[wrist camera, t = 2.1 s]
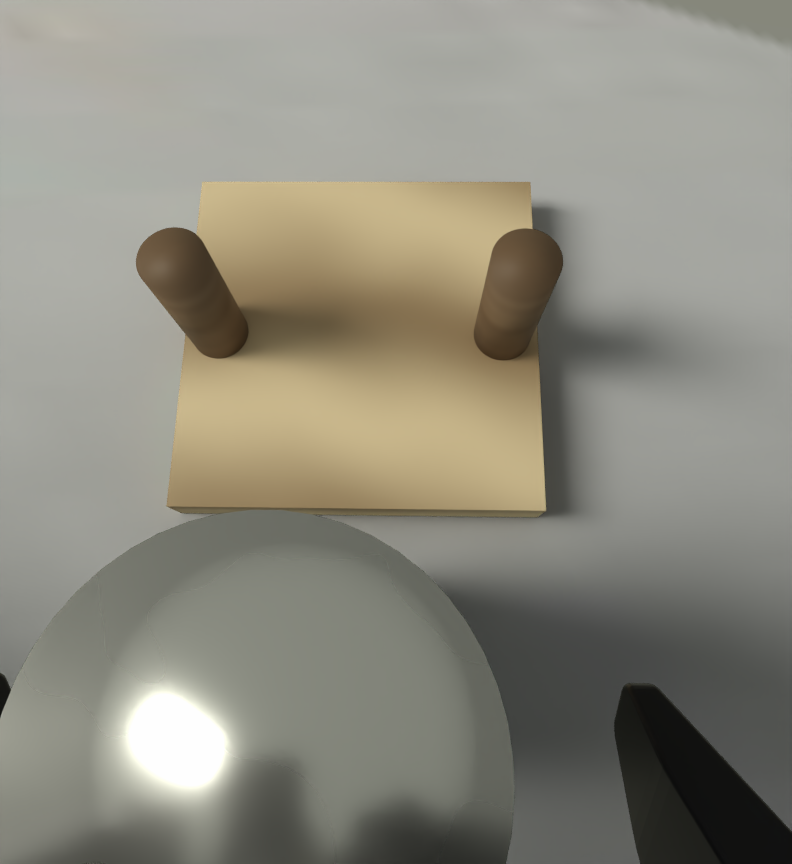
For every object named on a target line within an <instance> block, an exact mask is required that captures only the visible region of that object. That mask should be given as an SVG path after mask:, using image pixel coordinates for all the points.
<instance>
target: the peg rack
mask: <svg viewBox="0 0 792 864" xmlns="http://www.w3.org/2000/svg"><path fill="white" fill-rule="evenodd" d="M562 266H563V257H562V253H561V250H560V248H559V246H558V245H557V243H556V242H555V241H554V240H553V239H552V238H551V237H550V236H548V235H547V234H545V233H543V232H541V231H538V230H535V229H533V228H532V208H531V187H530V182H202V190H201V199H200V208H199V217H198V226H197V235H196V234H195V233H193V232H192V231H189V230H187V229H184V228H166V229H163V230H160V231H158V232H156V233H154V234H152V235H151V236H149V237H148V238H147V239H146V240H145V241H144V242H143V244H142V245H141V247H140V249H139V251H138V254H137V258H136V267H137V271H138V273H139V275H140V277H141V279H142V280H143V281H144V282H145V284H146V285H147V286H148V287H149V289H150V290H151V291H152V292H153V294H154V295H155V296H156V297H157V299H158V300H159V301H160V302H161V304H162V305H163V306H164V307H165V309H166V310H167V311H168V313H169V314H170V315H171V316H172V318H173V319H174V320H175V321H176V323H177V324H178V325H179V326H180V328H181V329H182V330H183V331H184V333H185V334H186V335H185V344H184V353H183V362H182V371H181V380H180V389H179V398H178V407H177V416H176V425H175V434H174V444H173V453H172V462H171V471H170V480H169V489H168V498H167V507H169V508H171V509H174V510H176V511H178V512H180V513H214V514H221V513H229V512H237V511H246V510H284V511H291V512H298V513H306V514H312V515H384V516H469V517H538V516H540V515H541V514H542V513H544V512H545V511H546V499H545V478H544V457H543V437H542V416H541V395H540V374H539V353H538V333H537V325H538V322H539V320H540V318H541V316H542V313H543V311H544V309H545V307H546V304H547V302H548V300H549V298H550V296H551V293H552V291H553V289H554V287H555V284H556V282H557V280H558V278H559V275H560V273H561V270H562Z"/></svg>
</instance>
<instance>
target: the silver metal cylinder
mask: <svg viewBox="0 0 792 864" xmlns="http://www.w3.org/2000/svg"><path fill="white" fill-rule="evenodd" d="M514 799H515V791H514V762H513V752H512V746H511V739H510V733H509V727H508V720H507V717H506V713H505V710H504V706H503V703H502V699H501V695H500V692H499V688H498V685H497V682H496V680H495V678H494V675H493V673H492V670H491V668H490V666H489V663H488V661H487V658H486V656H485V654H484V652H483V650H482V648H481V646H480V645H479V643H478V641H477V639H476V638H475V636H474V634H473V632H472V630H471V629H470V627H469V625H468V623H467V622H466V620H465V619H464V618H463V616H462V615H461V614H460V612H459V611H458V610H457V608H456V607H455V606H454V604H453V603H452V602H451V600H450V599H449V598H448V596H447V595H446V594H445V593H444V592H443V591H442V590H441V589H440V588H439V587H438V586H437V585H436V584H435V583H434V582H433V581H432V580H431V579H430V578H429V577H428V576H427V575H426V574H425V573H424V571H422V570H421V569H420V568H419V567H417V566H416V565H415V564H413V563H412V562H411V561H410V560H408V559H407V558H406V557H405V556H403V555H402V554H401V553H400V552H398V551H397V550H395V549H393V548H392V547H390V546H388V545H387V544H385V543H383V542H382V541H380V540H378V539H377V538H375V537H373V536H372V535H369V534H367V533H365V532H362V531H360V530H358V529H355V528H353V527H351V526H348V525H346V524H344V523H341V522H338V521H334V520H330V519H327V518H323V517H320V516H316V515H312V514H306V513H298V512H291V511H284V510H246V511H237V512H229V513H221V514H216V515H212V516H208V517H205V518H201V519H197V520H193V521H189V522H186V523H184V524H181V525H179V526H176V527H174V528H171V529H168V530H166V531H163V532H161V533H158V534H157V535H155V536H153V537H151V538H149V539H147V540H145V541H144V542H142V543H140V544H138V545H136V546H134V547H133V548H131V549H129V550H128V551H126V552H125V553H123V554H122V555H121V556H119V557H118V558H116V559H115V560H114V561H112V562H111V563H109V564H108V565H106V566H105V567H104V568H102V569H101V570H100V571H99V572H98V573H97V574H96V575H94V576H93V577H92V578H91V579H90V580H89V581H88V582H87V583H86V584H84V585H83V586H82V587H81V588H80V589H79V590H78V591H77V592H76V593H75V594H74V595H73V596H72V597H71V599H70V600H69V601H68V602H67V603H66V604H65V605H64V606H63V608H62V609H61V610H60V611H59V612H58V613H57V614H56V616H55V617H54V618H53V619H52V621H51V622H50V624H49V625H48V626H47V628H46V629H45V631H44V632H43V634H42V635H41V636H40V638H39V639H38V641H37V642H36V644H35V645H34V646H33V648H32V650H31V652H30V654H29V655H28V657H27V659H26V661H25V663H24V665H23V666H22V668H21V670H20V672H19V674H18V676H17V678H16V679H15V682H14V684H13V687H12V689H11V692H10V694H9V697H8V699H7V702H6V704H5V706H4V709H3V711H2V714H1V717H0V864H506V860H507V855H508V850H509V845H510V840H511V835H512V823H513V811H514Z"/></svg>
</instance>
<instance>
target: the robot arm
mask: <svg viewBox="0 0 792 864" xmlns="http://www.w3.org/2000/svg"><path fill="white" fill-rule="evenodd" d="M10 692H11V688H10V686H9V684H8V682H7V679H6V677H5V676H4V675H3V674H1V673H0V717H1V714H2V711H3V709H4V706H5V704H6V702H7V699H8V697H9V694H10ZM614 732H615V739H616V745H617V750H618V755H619V761H620V766H621V771H622V776H623V782H624V787H625V792H626V798H627V803H628V808H629V814H630V819H631V824H632V830H633V834H634V839H635V844H636V849H637V853H638V856H639V860H640V864H792V831H791V830H790V829H789V828H788V827H787V826H786V825H785V824H784V823H783V822H782V821H781V819H780V818H779V817H778V816H777V815H776V814H775V813H774V812H773V811H772V810H771V809H770V808H769V807H768V805H767V804H766V803H765V802H764V801H763V800H762V799H761V798H760V797H759V796H758V795H757V794H756V793H755V791H754V790H753V789H752V788H751V787H750V786H749V785H748V784H747V783H746V782H745V781H744V780H743V779H742V778H741V776H740V775H739V774H738V773H737V772H736V771H735V770H734V769H733V768H732V767H731V766H730V765H729V764H728V762H727V761H726V760H725V759H724V758H723V757H722V756H721V755H720V754H719V753H718V752H717V751H716V750H715V748H714V747H713V746H712V745H711V744H710V743H709V742H708V741H707V740H706V739H705V738H704V737H703V736H702V734H701V733H700V732H699V731H698V730H697V729H696V728H695V727H694V726H693V725H692V724H691V723H690V722H689V721H688V719H687V718H686V717H685V716H684V715H683V714H682V713H681V712H680V711H679V710H678V709H677V708H676V707H675V705H674V704H673V703H672V702H671V701H670V700H669V699H668V698H667V697H666V696H665V695H664V694H663V693H662V691H661V690H660V689H659V688H658V687H656V686H655V685H653V684H648V683H628V684H626V685H625V686H624V687H623V689H622V692H621V696H620V700H619V704H618V709H617V713H616V717H615V722H614Z"/></svg>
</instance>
